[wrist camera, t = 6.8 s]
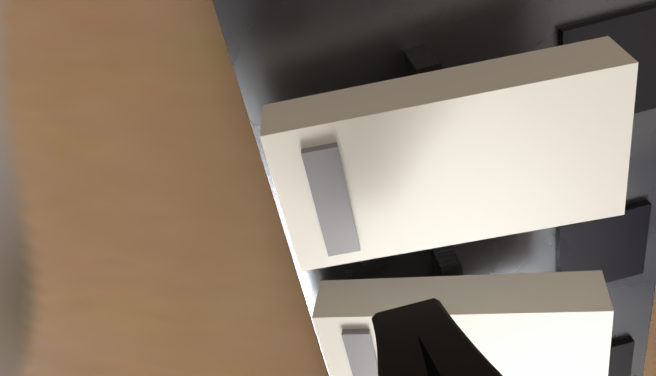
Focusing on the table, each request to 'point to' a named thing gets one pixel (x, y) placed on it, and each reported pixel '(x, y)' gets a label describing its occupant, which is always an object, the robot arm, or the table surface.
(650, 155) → the grey slab
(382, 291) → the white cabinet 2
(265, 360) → the table surface
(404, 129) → the rocker
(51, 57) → the table surface
